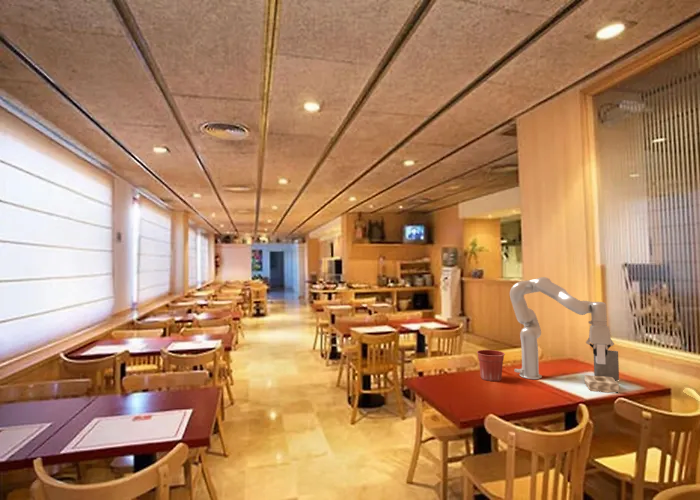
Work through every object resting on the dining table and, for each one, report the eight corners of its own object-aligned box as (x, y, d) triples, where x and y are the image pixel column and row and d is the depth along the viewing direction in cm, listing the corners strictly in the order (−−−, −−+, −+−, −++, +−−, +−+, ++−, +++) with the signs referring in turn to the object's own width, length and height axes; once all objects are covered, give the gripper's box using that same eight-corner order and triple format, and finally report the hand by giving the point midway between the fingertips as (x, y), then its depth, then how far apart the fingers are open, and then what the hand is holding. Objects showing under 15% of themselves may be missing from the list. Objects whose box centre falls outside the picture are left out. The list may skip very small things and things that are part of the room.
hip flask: (597, 382, 235) (596, 348, 236) (592, 380, 239) (591, 347, 240) (620, 380, 238) (619, 347, 239) (614, 379, 242) (613, 346, 243)
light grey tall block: (597, 363, 224) (596, 344, 225) (595, 362, 228) (595, 342, 228) (605, 364, 223) (604, 344, 223) (603, 362, 227) (603, 343, 227)
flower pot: (501, 375, 254) (500, 349, 254) (508, 382, 237) (508, 355, 238) (474, 374, 255) (474, 349, 256) (480, 382, 239) (480, 355, 239)
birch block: (589, 390, 221) (589, 381, 221) (584, 383, 234) (584, 374, 234) (619, 393, 216) (618, 384, 216) (612, 385, 229) (612, 377, 229)
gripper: (583, 324, 226) (584, 356, 225) (618, 325, 220) (619, 358, 219) (581, 322, 233) (582, 353, 232) (614, 323, 227) (615, 355, 226)
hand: (600, 355), depth 226 cm, fingers closed on light grey tall block, 4 cm apart
